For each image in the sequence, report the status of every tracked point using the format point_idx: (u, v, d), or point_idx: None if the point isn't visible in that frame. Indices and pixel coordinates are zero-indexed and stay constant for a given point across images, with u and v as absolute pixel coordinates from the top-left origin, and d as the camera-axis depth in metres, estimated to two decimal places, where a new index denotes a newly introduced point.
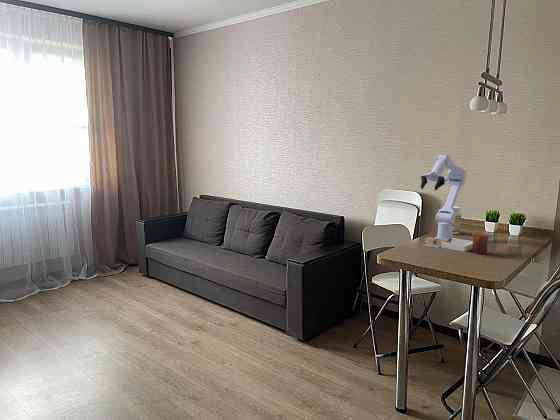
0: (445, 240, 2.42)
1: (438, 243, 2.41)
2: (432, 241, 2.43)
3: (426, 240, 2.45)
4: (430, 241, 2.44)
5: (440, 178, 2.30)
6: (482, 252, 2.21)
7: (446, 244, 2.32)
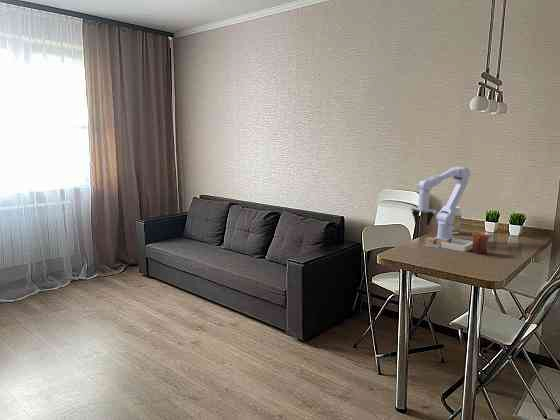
0: (445, 240, 2.42)
1: (438, 243, 2.41)
2: (432, 241, 2.43)
3: (426, 240, 2.45)
4: (430, 241, 2.44)
5: (428, 215, 2.45)
6: (482, 252, 2.21)
7: (446, 244, 2.32)
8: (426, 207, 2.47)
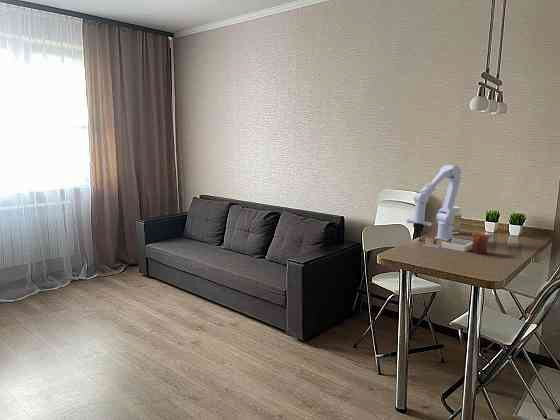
0: (445, 240, 2.42)
1: (438, 243, 2.41)
2: (432, 241, 2.43)
3: (426, 240, 2.45)
4: (430, 241, 2.44)
5: (419, 227, 2.48)
6: (482, 252, 2.21)
7: (446, 244, 2.32)
8: (422, 220, 2.47)
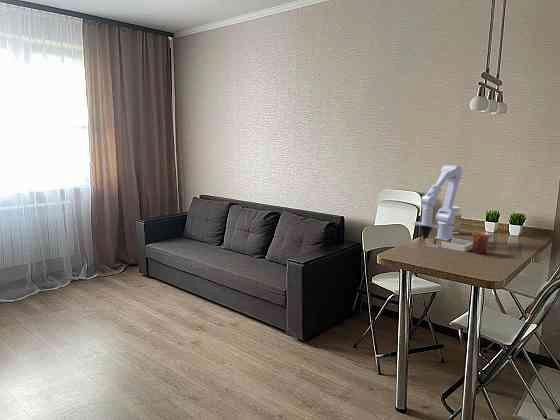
0: (445, 240, 2.42)
1: (438, 243, 2.41)
2: (432, 241, 2.43)
3: (426, 240, 2.45)
4: (430, 241, 2.44)
5: (426, 230, 2.45)
6: (482, 252, 2.21)
7: (446, 244, 2.32)
8: (429, 222, 2.44)
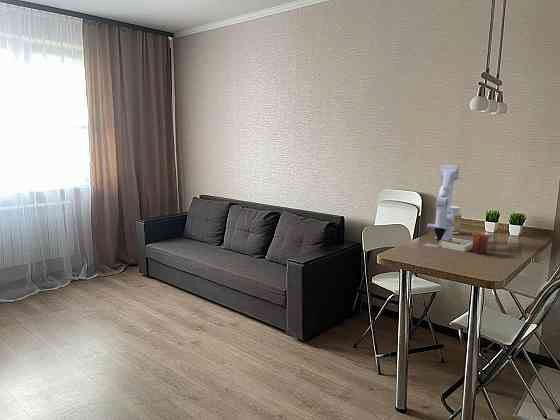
0: (457, 242, 2.38)
1: None
2: None
3: (440, 242, 2.40)
4: None
5: (440, 232, 2.39)
6: (482, 252, 2.21)
7: (446, 244, 2.32)
8: (444, 224, 2.39)
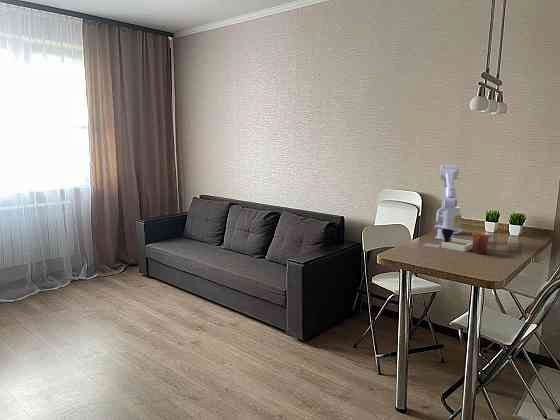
0: None
1: None
2: None
3: None
4: None
5: (448, 233, 2.37)
6: (482, 252, 2.21)
7: (446, 244, 2.32)
8: (451, 225, 2.36)
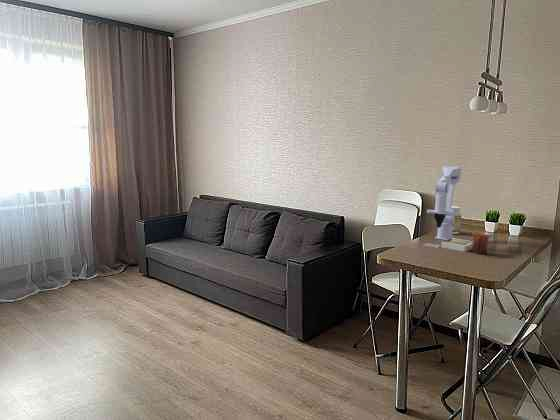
0: None
1: None
2: None
3: None
4: None
5: (440, 217, 2.39)
6: (482, 252, 2.21)
7: (446, 244, 2.32)
8: (443, 210, 2.38)
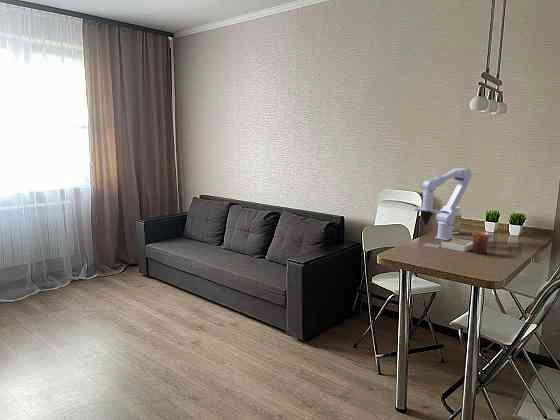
0: None
1: None
2: None
3: None
4: None
5: (427, 215, 2.47)
6: (482, 252, 2.21)
7: (446, 244, 2.32)
8: (430, 207, 2.46)
